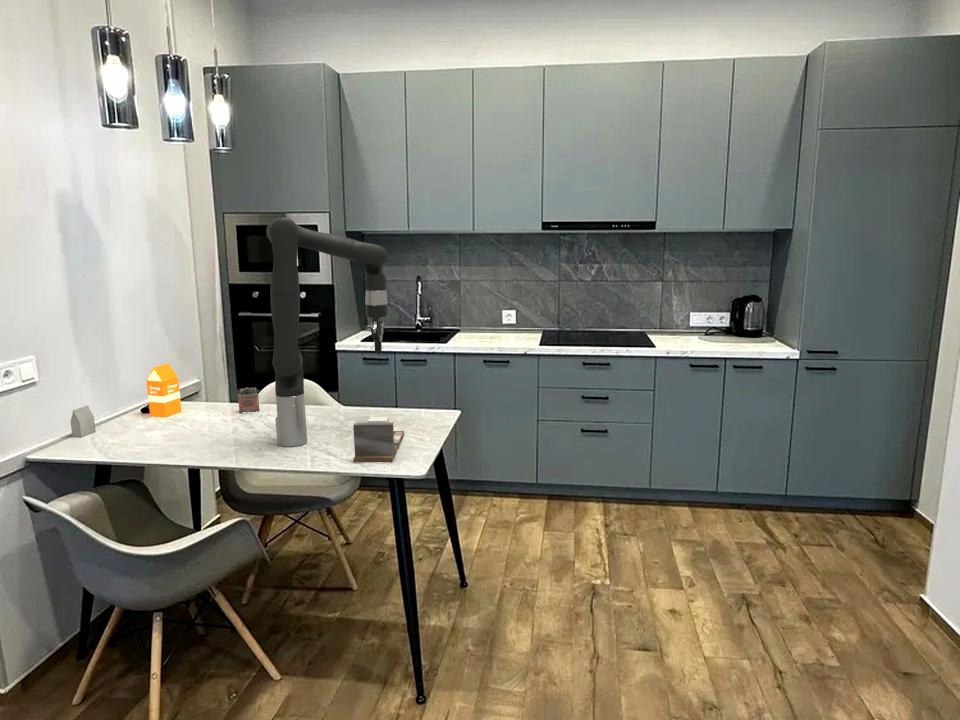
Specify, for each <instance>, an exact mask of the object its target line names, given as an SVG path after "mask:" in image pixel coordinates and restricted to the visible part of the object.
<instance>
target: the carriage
mask: <svg viewBox="0 0 960 720" xmlns="http://www.w3.org/2000/svg"><path fill="white" fill-rule="evenodd" d="M389 419H390V417H389V416H370V417H369V419H368V420H367V422H390V420H389ZM394 444H398V443H394Z"/></svg>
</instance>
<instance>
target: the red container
mask: <svg viewBox="0 0 960 720" xmlns="http://www.w3.org/2000/svg"><path fill="white" fill-rule="evenodd" d="M239 392H240V393H237V399H238V413H239V412H240V413H239V414H244V413H243V412H256V411H260V412H261V409H260V403H259V402H260V400H259V399H260V398H259V392H257V387H250V388H249V387H245V388H240V389H239Z"/></svg>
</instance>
